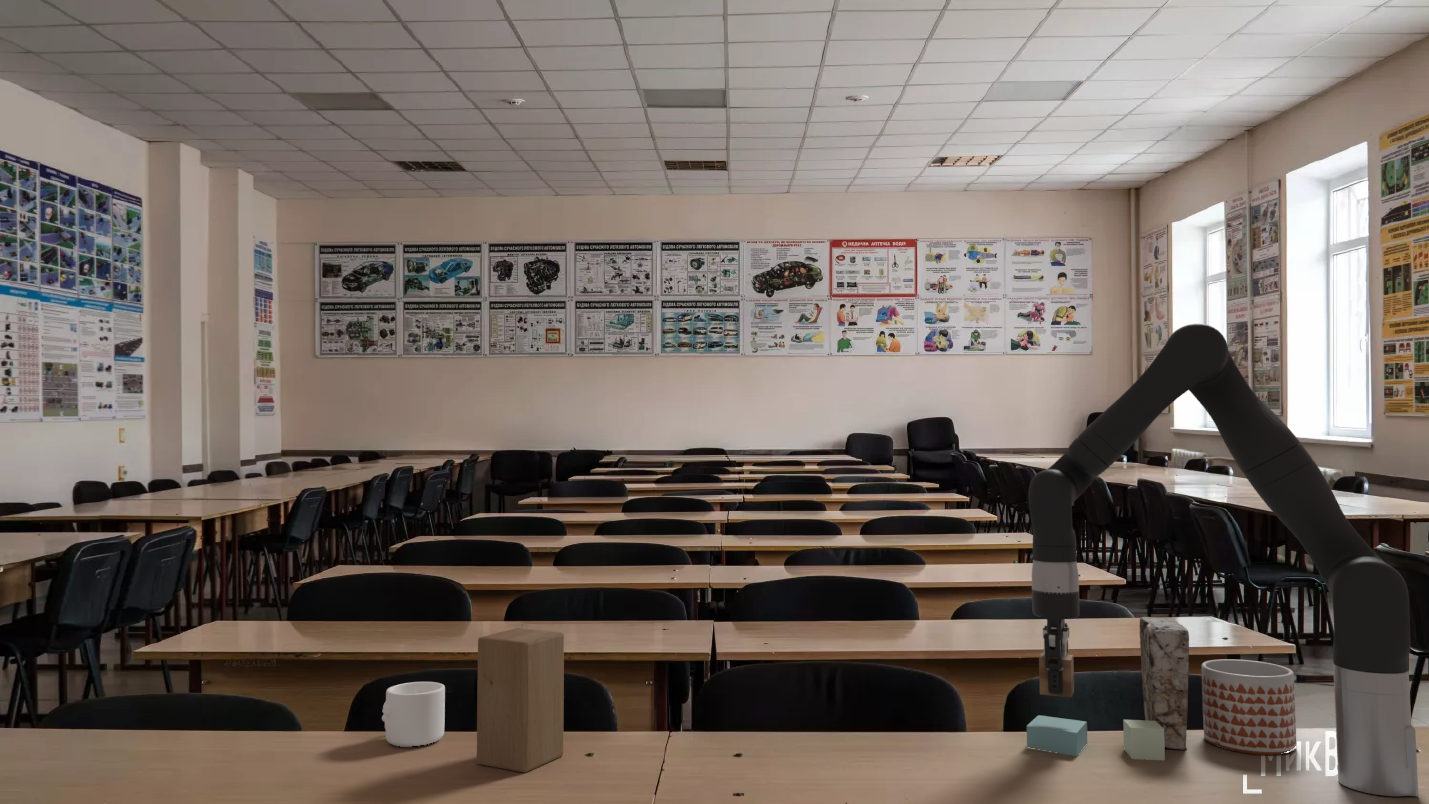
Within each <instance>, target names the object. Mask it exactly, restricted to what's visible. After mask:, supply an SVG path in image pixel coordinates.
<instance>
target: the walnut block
mask: <svg viewBox="0 0 1429 804" xmlns="http://www.w3.org/2000/svg"><path fill="white" fill-rule="evenodd" d="M1050 661H1054V662H1058V657H1051V658H1050ZM1063 666H1064V669H1063V672H1062V675H1063V692H1062V694H1051V693H1049V691H1048V670H1047V668H1046V666H1045V654H1044V651H1043V652H1041V654H1040V655H1039V657H1038V671H1039V672H1038V673H1039V675H1038V676H1039V695H1041V696H1043V695H1044V696H1051V697H1053V696H1055V697H1064V698H1072V697H1073V694H1074V692H1075V674H1074V673H1075V669H1074V666H1075V665H1074V654H1069V653H1068V654H1066V657H1065V658H1063Z"/></svg>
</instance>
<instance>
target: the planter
mask: <svg viewBox="0 0 1429 804" xmlns="http://www.w3.org/2000/svg"><path fill="white" fill-rule="evenodd" d="M1294 674H1295V673H1294V671H1293V670H1292V669H1290V668H1288V667H1286V666H1282V665H1281V664H1279V665H1278V664H1274V663H1269V662H1265V661H1257V660H1249V659H1248V660H1247V659H1230V658H1229V659H1228V658H1227V659H1222V658H1221V659H1212V660H1206V661H1204V662H1202V664H1201V691H1202V692H1201V693H1202V718H1203V738H1204V740H1206V741H1207V742H1208V743H1209V742H1210V743H1209V744H1211V743H1212V744H1211V745H1213V744H1214V745H1213V746H1215V745H1218V746H1220V747H1223V748H1226V749H1225V750H1227V749H1229V750H1228V751H1231V750H1233V751H1232V752H1235V751H1237V752H1236V753H1241V752H1242V754H1246V755H1247V754H1248V755H1249V754H1250V755H1259V756H1278V755H1277V754H1281V753H1284V752H1287V751H1290V750H1291V749H1293V748H1294V747H1295V746H1296V747H1297V723H1296V720H1297V719H1296V699H1295V698H1296V697H1295V675H1294ZM1220 747H1219V748H1220ZM1223 748H1222V749H1223Z"/></svg>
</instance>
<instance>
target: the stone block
mask: <svg viewBox="0 0 1429 804" xmlns="http://www.w3.org/2000/svg"><path fill="white" fill-rule="evenodd" d="M1139 646H1140V647H1139V648H1140V663H1141V665H1140V666H1141V679H1142V696H1143V710H1144V713H1143V714H1144V719H1145V720H1148V721H1156V722H1157V723H1158V724H1159V725H1160V726H1161V727H1162V728H1163V729H1164V745H1165V747H1166V748H1167V749H1174V750H1182V751H1184V750H1185V749H1186V750H1188V749H1187V736H1188V735H1187V730H1188V729H1187V728H1188V727H1187V726H1188V725H1187V724H1188V705H1189V704H1188V703H1189V701H1188V699H1189V698H1188V696H1189V665H1190V663H1189V656H1190V634H1189V630H1188V628H1186V627H1185V626H1184V625H1183V624H1180V623H1179V622H1178V621H1176V620H1174V619H1170V618H1162V617H1150V616H1142V617H1140V618H1139Z"/></svg>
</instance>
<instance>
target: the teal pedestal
mask: <svg viewBox="0 0 1429 804" xmlns="http://www.w3.org/2000/svg"><path fill="white" fill-rule="evenodd" d="M1086 744H1087V745H1088V723H1087V721H1083V720H1078V719H1069V718H1061V717H1056V716H1055V717H1054V716H1047V715H1041V714H1040V715H1037V716H1036V717H1034V719H1032V720H1031V721H1030V722H1029V723H1028V724H1026V748H1027V747H1030V748H1035V749H1040V750H1046V751H1051V752H1050V753H1052V752H1057V753H1056V754H1058V753H1062V754H1061V755H1065V754H1067V755H1066V756H1071V755H1072V756H1073V757H1078V756H1079V755H1080V754H1081V753H1082V751H1083V750H1084V749H1083V747H1084V746H1085V745H1086ZM1087 745H1086V746H1087ZM1086 746H1085V747H1086ZM1082 749H1083V750H1082ZM1081 750H1082V751H1081ZM1080 752H1081V753H1080ZM1079 753H1080V754H1079ZM1072 756H1071V757H1072Z"/></svg>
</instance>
